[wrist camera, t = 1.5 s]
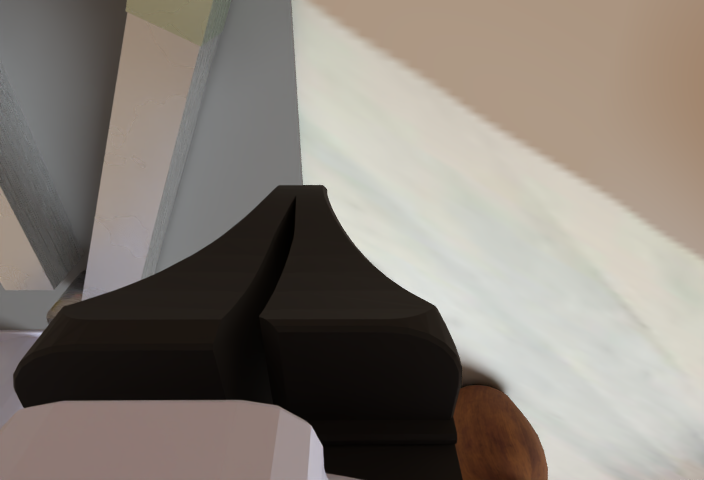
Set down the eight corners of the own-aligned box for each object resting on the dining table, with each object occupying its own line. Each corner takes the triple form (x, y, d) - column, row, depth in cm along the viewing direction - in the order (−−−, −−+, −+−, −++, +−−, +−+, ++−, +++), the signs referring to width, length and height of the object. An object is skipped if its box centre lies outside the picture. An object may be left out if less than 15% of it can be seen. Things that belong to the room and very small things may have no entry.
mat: (2, 330, 28) (-2, 335, 27) (-432, -331, 12) (-454, -339, 12) (312, 330, 28) (311, 334, 28) (270, -317, 12) (268, -324, 12)
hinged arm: (144, 312, 26) (122, 353, 23) (75, 292, 25) (44, 331, 22) (254, -81, 15) (235, -86, 13) (138, -146, 14) (93, -166, 12)
